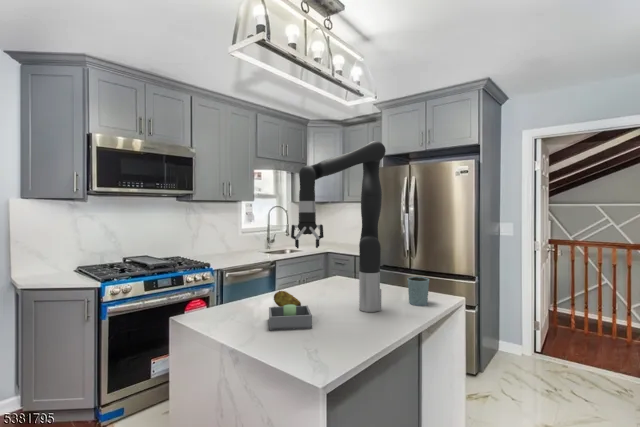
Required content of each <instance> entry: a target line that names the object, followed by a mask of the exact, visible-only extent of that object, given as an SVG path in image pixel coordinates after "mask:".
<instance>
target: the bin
mask: <svg viewBox="0 0 640 427" xmlns="http://www.w3.org/2000/svg"><path fill="white" fill-rule="evenodd" d="M268 325H269V331H270V332H272V331H273V332H274V331H287V330H290V331H291V330H307V329H313V314H312V312H311V309H310V308H309V306H308V305H301V306H296V316H284V307H279V306H270V307H268Z"/></svg>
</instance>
